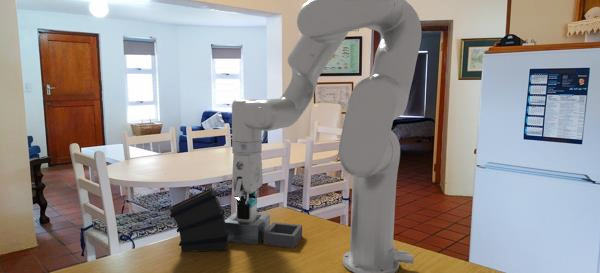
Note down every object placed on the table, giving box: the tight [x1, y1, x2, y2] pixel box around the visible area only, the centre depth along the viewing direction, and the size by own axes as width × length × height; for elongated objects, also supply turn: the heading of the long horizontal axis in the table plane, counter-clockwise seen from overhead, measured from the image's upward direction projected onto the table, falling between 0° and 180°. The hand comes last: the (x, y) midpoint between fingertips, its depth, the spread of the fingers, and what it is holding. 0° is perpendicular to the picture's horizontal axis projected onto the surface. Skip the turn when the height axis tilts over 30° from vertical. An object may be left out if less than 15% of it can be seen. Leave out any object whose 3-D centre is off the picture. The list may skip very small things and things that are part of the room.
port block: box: [224, 210, 271, 246], centre depth 109 cm, size 10×10×5 cm
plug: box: [237, 196, 258, 223], centre depth 109 cm, size 4×4×9 cm
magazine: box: [169, 187, 228, 252], centre depth 100 cm, size 4×13×15 cm, turn 94°
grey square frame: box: [263, 221, 303, 249], centre depth 107 cm, size 8×8×3 cm
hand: (247, 214), depth 108 cm, fingers open, 4 cm apart
